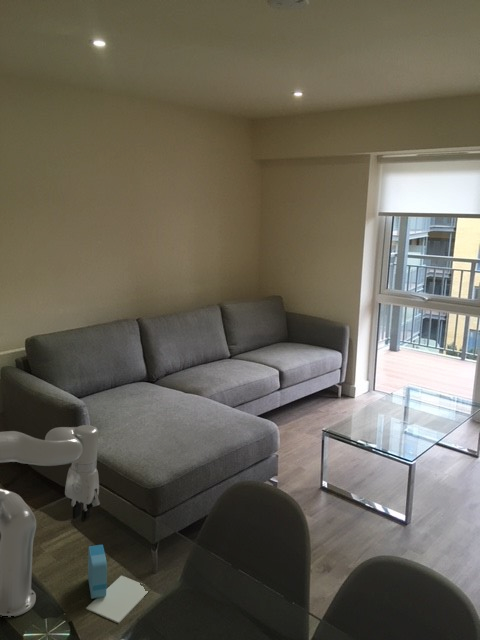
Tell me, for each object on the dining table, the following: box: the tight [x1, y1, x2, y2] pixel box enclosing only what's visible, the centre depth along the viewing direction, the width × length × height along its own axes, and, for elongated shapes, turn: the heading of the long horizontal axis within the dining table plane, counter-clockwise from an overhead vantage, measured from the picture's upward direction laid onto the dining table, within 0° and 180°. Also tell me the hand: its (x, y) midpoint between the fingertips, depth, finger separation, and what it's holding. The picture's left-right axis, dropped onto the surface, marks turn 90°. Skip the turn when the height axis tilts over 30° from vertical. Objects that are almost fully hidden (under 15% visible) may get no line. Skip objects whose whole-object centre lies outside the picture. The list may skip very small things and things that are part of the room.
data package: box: [87, 544, 108, 600], centre depth 172 cm, size 12×4×12 cm, turn 21°
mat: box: [85, 575, 149, 624], centre depth 169 cm, size 12×18×1 cm, turn 157°
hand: (80, 518), depth 172 cm, fingers open, 2 cm apart
